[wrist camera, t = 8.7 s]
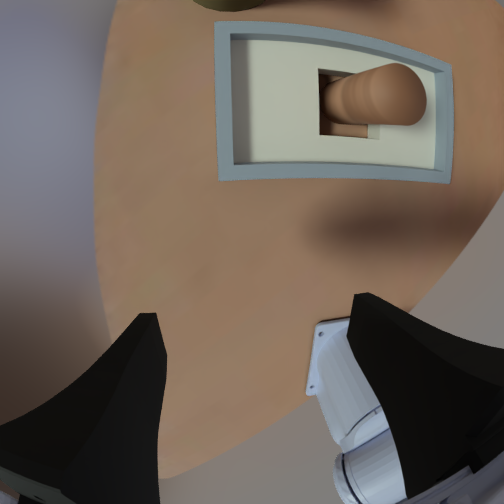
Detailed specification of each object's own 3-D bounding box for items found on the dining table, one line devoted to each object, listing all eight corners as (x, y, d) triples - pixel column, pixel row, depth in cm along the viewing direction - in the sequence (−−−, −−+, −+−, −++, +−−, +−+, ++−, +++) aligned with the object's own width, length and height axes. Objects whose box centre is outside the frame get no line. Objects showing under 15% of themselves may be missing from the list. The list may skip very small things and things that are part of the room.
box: (427, 176, 19) (450, 184, 16) (218, 174, 17) (218, 181, 15) (427, 68, 15) (451, 64, 13) (214, 37, 14) (214, 21, 11)
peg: (361, 87, 16) (428, 75, 10) (358, 128, 17) (424, 132, 11) (321, 76, 15) (377, 53, 9) (317, 119, 17) (372, 116, 10)
